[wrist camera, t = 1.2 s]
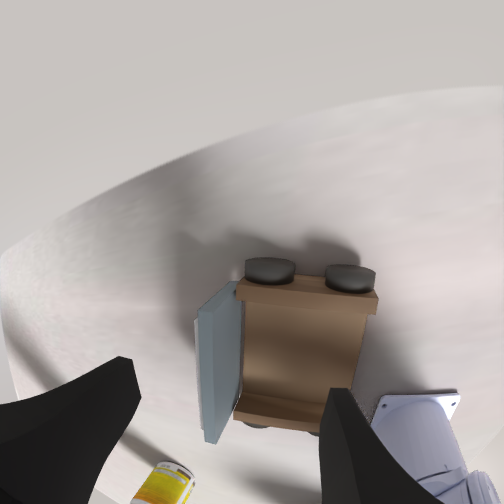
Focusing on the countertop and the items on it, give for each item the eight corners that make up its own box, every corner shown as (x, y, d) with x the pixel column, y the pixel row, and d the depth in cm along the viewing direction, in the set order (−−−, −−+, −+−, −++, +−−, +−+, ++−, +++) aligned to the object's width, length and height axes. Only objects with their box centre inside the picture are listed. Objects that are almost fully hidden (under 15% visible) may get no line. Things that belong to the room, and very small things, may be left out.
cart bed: (340, 413, 21) (340, 442, 18) (245, 400, 23) (233, 427, 20) (371, 266, 19) (381, 281, 15) (251, 255, 21) (236, 268, 17)
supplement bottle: (151, 455, 29) (112, 507, 19) (189, 463, 27) (152, 523, 18) (167, 480, 30) (134, 529, 20) (202, 487, 28) (172, 543, 18)
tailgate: (238, 398, 22) (216, 444, 16) (224, 395, 22) (199, 440, 16) (242, 281, 20) (212, 312, 14) (225, 279, 20) (190, 309, 15)
